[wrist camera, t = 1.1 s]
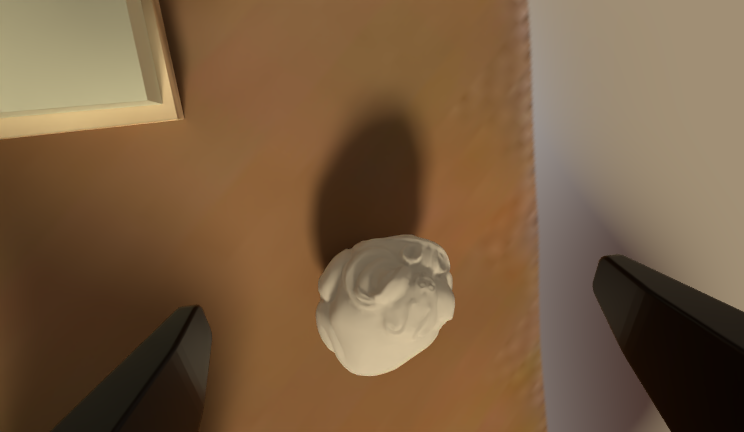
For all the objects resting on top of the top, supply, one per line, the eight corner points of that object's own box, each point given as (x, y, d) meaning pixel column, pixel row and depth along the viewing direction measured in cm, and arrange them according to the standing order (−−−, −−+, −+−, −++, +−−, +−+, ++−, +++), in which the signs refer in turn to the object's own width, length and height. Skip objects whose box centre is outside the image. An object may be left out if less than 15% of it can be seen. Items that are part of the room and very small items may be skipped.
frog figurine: (432, 231, 24) (508, 273, 17) (383, 343, 24) (439, 426, 18) (333, 193, 21) (377, 224, 15) (282, 318, 22) (304, 401, 15)
